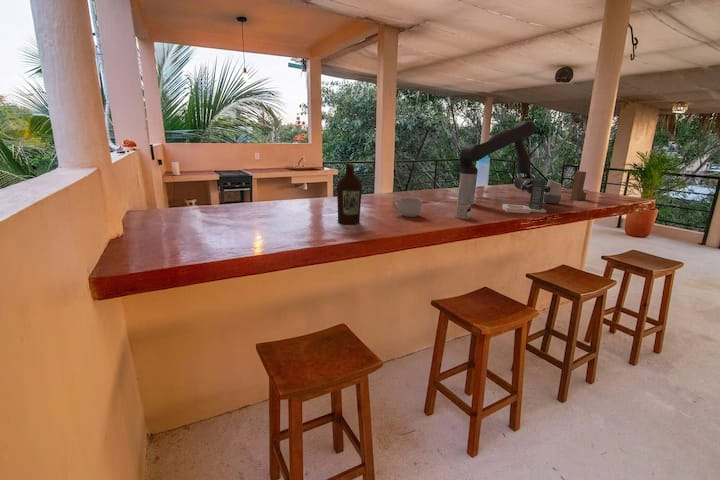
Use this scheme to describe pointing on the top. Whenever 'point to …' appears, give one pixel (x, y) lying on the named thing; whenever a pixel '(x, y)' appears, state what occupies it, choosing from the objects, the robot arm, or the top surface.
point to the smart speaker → (553, 193)
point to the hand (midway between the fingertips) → (538, 190)
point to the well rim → (516, 208)
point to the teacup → (408, 206)
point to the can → (537, 194)
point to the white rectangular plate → (537, 210)
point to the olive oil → (349, 197)
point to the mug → (463, 210)
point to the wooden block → (578, 186)
